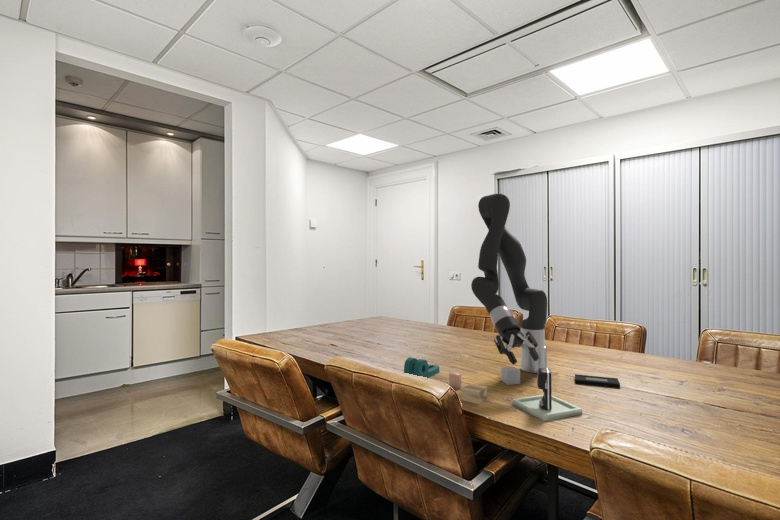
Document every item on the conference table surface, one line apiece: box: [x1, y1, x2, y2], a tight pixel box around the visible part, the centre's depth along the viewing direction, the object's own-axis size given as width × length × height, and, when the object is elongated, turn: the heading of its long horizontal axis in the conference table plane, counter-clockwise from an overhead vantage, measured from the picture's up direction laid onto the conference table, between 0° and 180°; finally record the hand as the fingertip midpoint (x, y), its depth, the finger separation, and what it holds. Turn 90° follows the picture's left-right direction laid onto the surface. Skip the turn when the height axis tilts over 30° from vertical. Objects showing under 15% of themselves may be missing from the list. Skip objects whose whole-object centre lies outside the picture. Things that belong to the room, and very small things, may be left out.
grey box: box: [500, 366, 521, 386], centre depth 150 cm, size 5×5×5 cm
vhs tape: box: [574, 373, 621, 389], centre depth 148 cm, size 8×14×2 cm, turn 67°
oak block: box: [461, 383, 488, 405], centre depth 132 cm, size 6×6×4 cm
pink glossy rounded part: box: [448, 371, 463, 390], centre depth 144 cm, size 4×4×5 cm
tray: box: [512, 394, 583, 422], centre depth 123 cm, size 14×14×2 cm
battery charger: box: [536, 367, 553, 410], centre depth 123 cm, size 7×4×11 cm, turn 163°
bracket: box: [403, 356, 441, 379], centre depth 160 cm, size 18×7×8 cm, turn 144°
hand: (526, 361), depth 133 cm, fingers open, 8 cm apart
